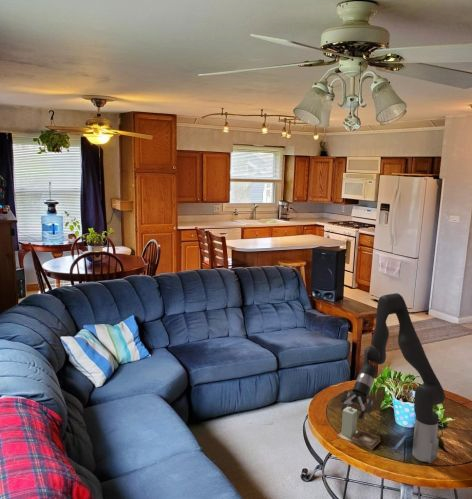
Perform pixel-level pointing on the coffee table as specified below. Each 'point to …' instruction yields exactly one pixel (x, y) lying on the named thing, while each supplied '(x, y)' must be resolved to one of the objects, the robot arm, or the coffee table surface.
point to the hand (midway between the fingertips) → (351, 415)
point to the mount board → (363, 439)
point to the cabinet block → (349, 422)
